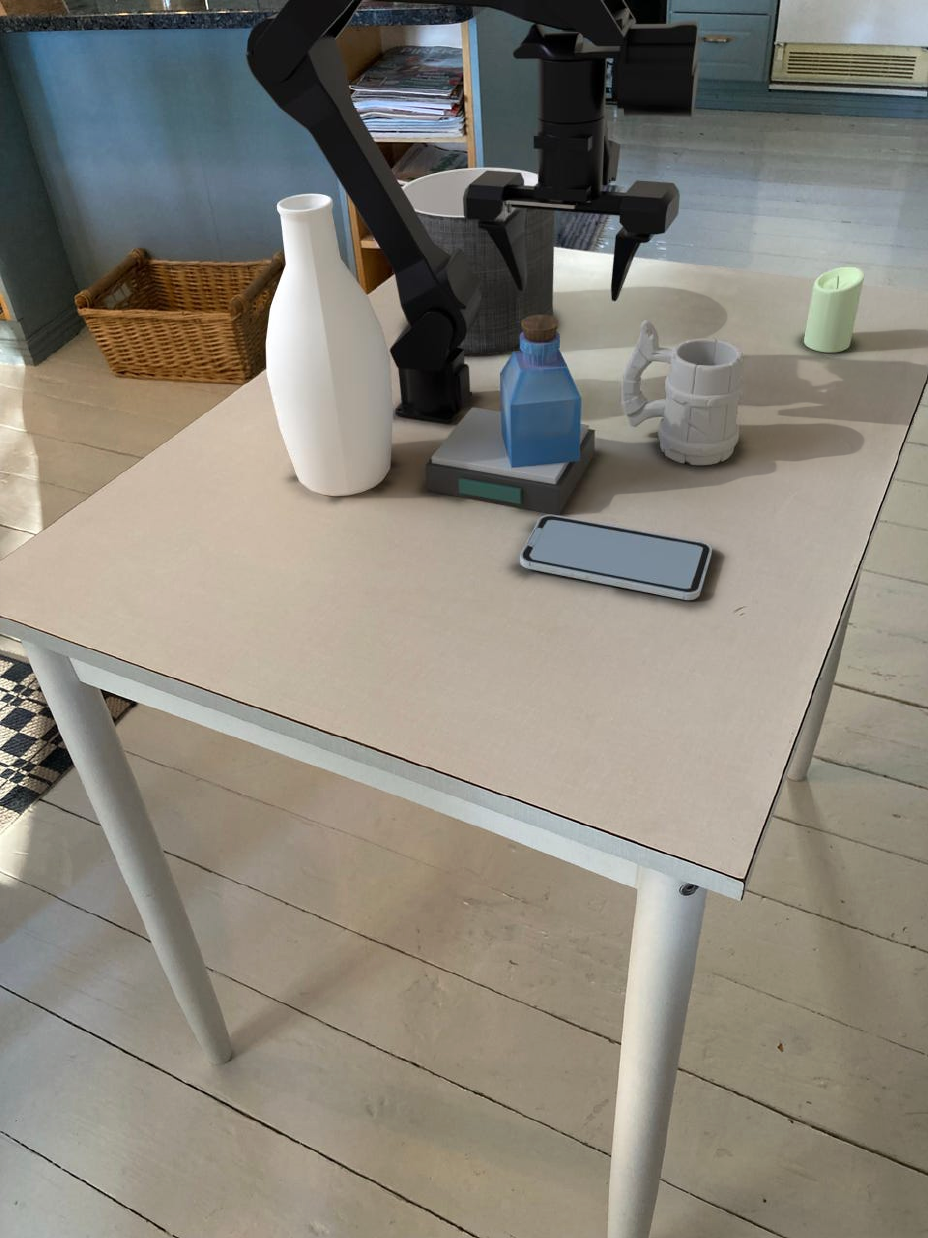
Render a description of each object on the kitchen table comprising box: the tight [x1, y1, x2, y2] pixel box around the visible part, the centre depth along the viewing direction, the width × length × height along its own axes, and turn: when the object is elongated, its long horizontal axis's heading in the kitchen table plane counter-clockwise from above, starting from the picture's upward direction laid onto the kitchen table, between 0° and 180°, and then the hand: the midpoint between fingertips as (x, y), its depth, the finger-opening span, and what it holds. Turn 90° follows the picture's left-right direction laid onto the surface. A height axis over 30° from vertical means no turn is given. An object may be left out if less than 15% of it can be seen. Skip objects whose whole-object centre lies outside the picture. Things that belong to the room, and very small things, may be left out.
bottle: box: [265, 193, 394, 497], centre depth 88 cm, size 11×11×25 cm
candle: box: [803, 266, 865, 354], centre depth 110 cm, size 5×5×8 cm
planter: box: [401, 167, 555, 356], centre depth 117 cm, size 18×18×16 cm
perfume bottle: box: [499, 315, 582, 468], centre depth 88 cm, size 6×6×12 cm
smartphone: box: [519, 514, 713, 601], centre depth 83 cm, size 7×1×15 cm
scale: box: [424, 406, 596, 516], centre depth 94 cm, size 13×11×4 cm
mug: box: [620, 318, 744, 466], centre depth 94 cm, size 8×12×12 cm, turn 65°
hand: (568, 294), depth 95 cm, fingers open, 9 cm apart
